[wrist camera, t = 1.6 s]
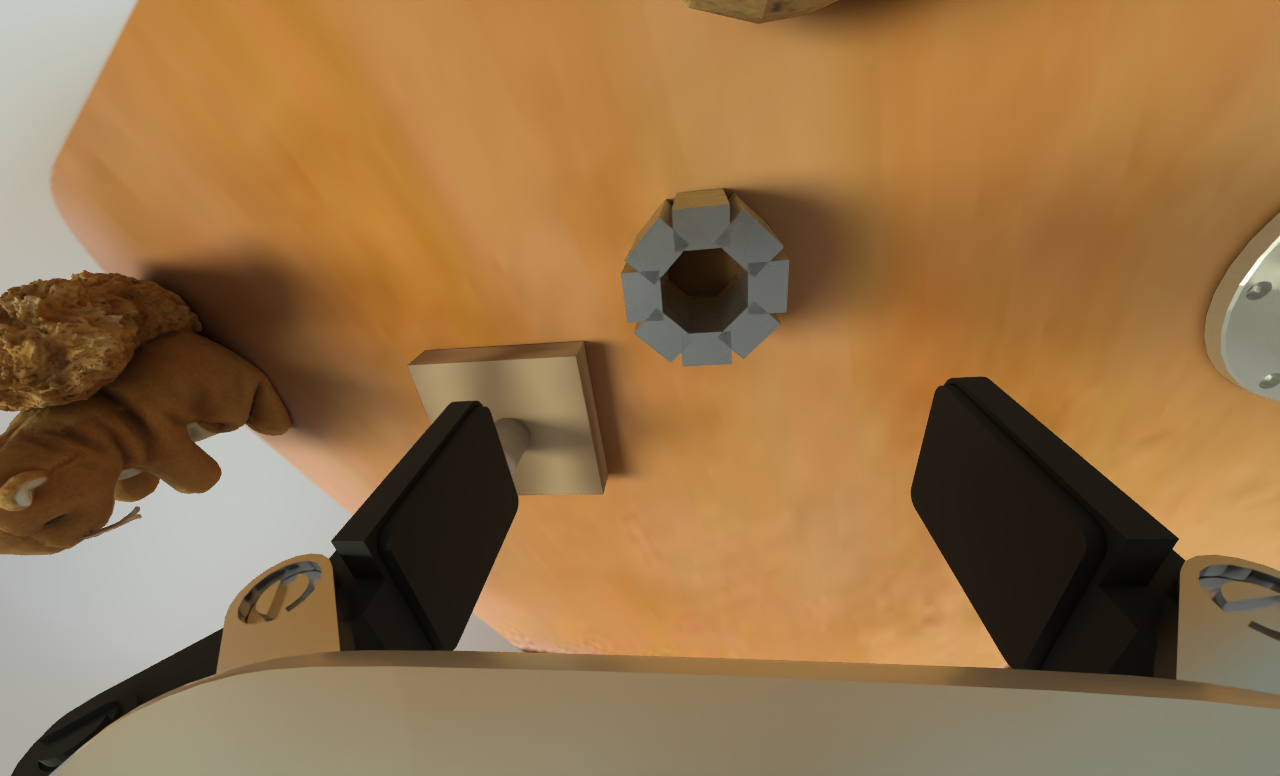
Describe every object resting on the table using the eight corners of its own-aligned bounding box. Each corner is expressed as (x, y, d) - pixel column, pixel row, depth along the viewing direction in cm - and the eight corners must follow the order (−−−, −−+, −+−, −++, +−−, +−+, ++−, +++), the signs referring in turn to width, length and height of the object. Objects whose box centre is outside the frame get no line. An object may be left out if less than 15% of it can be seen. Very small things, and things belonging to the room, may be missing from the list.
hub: (772, 182, 21) (792, 197, 17) (768, 319, 24) (784, 361, 20) (629, 198, 22) (613, 215, 18) (643, 327, 25) (633, 368, 21)
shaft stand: (583, 341, 26) (547, 411, 20) (608, 474, 31) (585, 565, 25) (425, 350, 28) (343, 419, 21) (472, 476, 33) (417, 562, 26)
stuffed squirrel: (178, 432, 34) (-85, 588, 22) (67, 237, 26) (-403, 320, 15) (306, 447, 33) (102, 615, 22) (227, 251, 26) (-138, 349, 14)
